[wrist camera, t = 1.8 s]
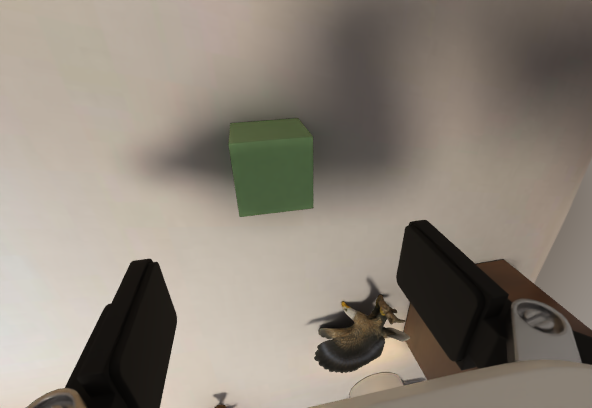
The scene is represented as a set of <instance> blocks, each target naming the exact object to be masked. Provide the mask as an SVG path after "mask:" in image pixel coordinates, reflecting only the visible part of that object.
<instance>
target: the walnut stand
mask: <svg viewBox="0 0 592 408" xmlns="http://www.w3.org/2000/svg"><path fill="white" fill-rule="evenodd" d="M476 265H477V266H478V267H479V268H480V269H481V270H483V271H484V272H485V273H486V274H487V275H488V276H489V277H490V278H491V279H492V280H494V281H495V282H496V283H497V284H498V285H499V286H500V287H501V288H502V289H504V290H505V291H506V292H507V293H508V294H509V296H508V299H509V300H510V301H511V302H512V303H513V302H514V301H515V300H517V299H532V300H537V301H540V302H542V303H545V304H547V305H549V306H551V307H552V308H554V309H556V310H557V311H558V312H560V313H561V314H562V315H563V316H564V317H565V318H566V319H567V320H568V322H569V324H570V326H571V328H572V330H573V331H576V332H579V333H582V334H584V335H587V336H590V337H592V330H591V329H589V328H588V327H587V326H585V325H584V324H583V323H582V322H581V321H579V320H578V319H577V318H576V317H574V316H573V315H572V314H571V313H569V312H568V311H567V310H566V309H565V308H563V307H562V306H561V305H560V304H558V303H557V302H556V301H555V300H553V299H552V298H551V297H550V296H548V295H547V294H546V293H545V292H543V291H542V290H541V289H540V288H539V287H537V286H536V285H535V284H534V283H532V282H531V281H530V280H529V279H527V278H526V277H525V276H524V275H522V274H521V273H520V272H519V271H518V270H516V269H515V268H514V267H513V266H511V265H510V264H509V263H508V262H506V261H505V260H497V261H491V262H485V263H479V264H476ZM404 332H405V333H406V334H407V335H408V336H409V337H410V339H408V340H406V343H407V345H408V347H409V348H410V350H411V352H412V354H413V355H414V357H415V359H416V361H417V362H418V364H419V366H420V368H421V370H422V371H423V373H424V375H425V377H426V378H427V380H431V379H435V378H440V377H444V376H449V375H453V374H457V373H462V372H467V371H472V370H477V369H478V367H477V366H476V367H475V368H470V369H466V370H462V371H461V369H460V368H459V367H458V365H457V364H456V362H455V361H454V362H453V361H451V360H450V359H449V358H448V356H447V355H446V354H445V352H444V351H443V349H442V348H441V346H440V345H439V343H438V342H437V340H436V339H435V338H434V336H433V335H432V333H431V332H430V330H429V329H428V327H427V326H426V324H425V323H424V322H423V320H422V319H421V317H420V316H419V314H418V313H417V311H416V310H415V308H414V307H413V306H412V304H411V303H410V307H409V311H408V315H407V320H406V324H405V328H404Z"/></svg>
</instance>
